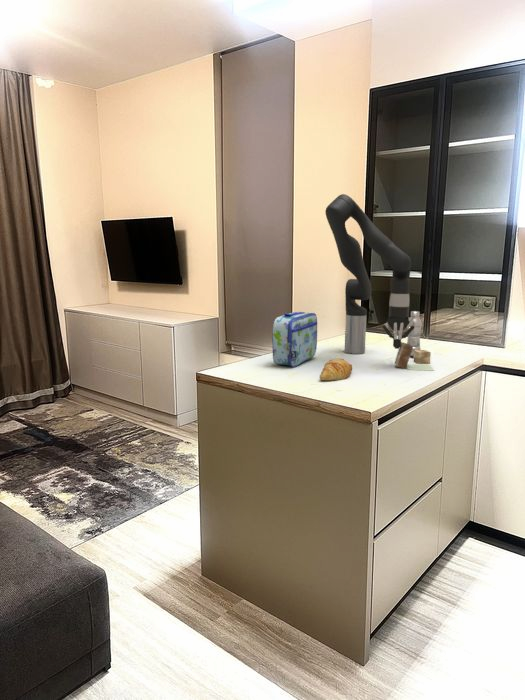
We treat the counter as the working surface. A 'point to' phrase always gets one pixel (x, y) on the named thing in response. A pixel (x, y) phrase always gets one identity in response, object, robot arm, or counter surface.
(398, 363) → the walnut block
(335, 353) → the counter surface
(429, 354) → the oak block
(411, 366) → the pad
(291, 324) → the lunch box
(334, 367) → the croissant
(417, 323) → the plastic bottle
